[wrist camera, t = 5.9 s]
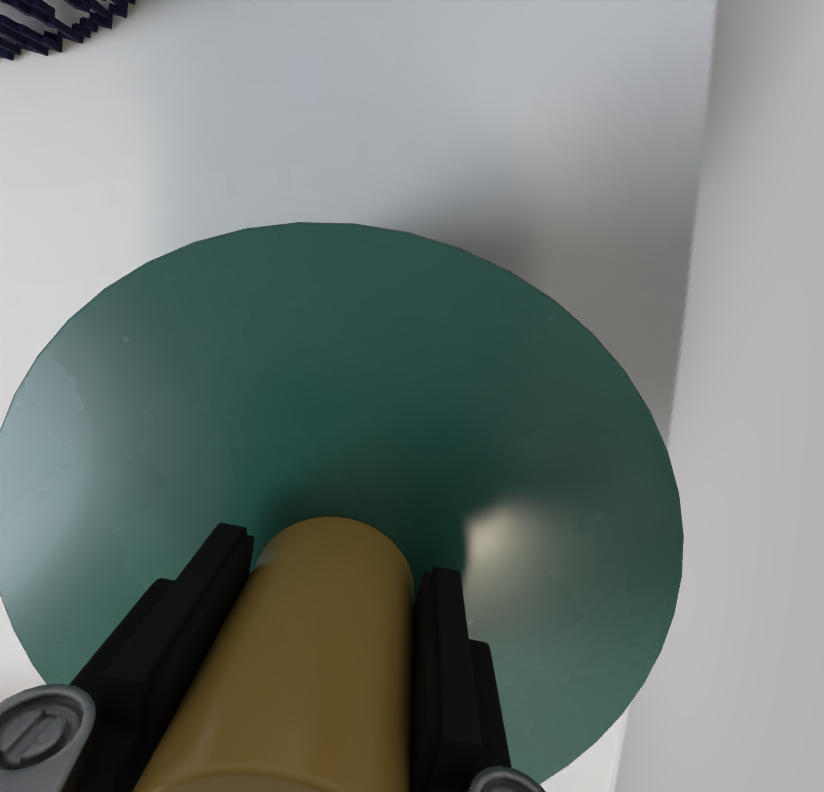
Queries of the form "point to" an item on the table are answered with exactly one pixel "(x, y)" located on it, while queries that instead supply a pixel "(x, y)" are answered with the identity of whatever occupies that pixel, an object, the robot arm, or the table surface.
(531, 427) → the lid
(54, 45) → the decorative bowl
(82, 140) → the table surface
